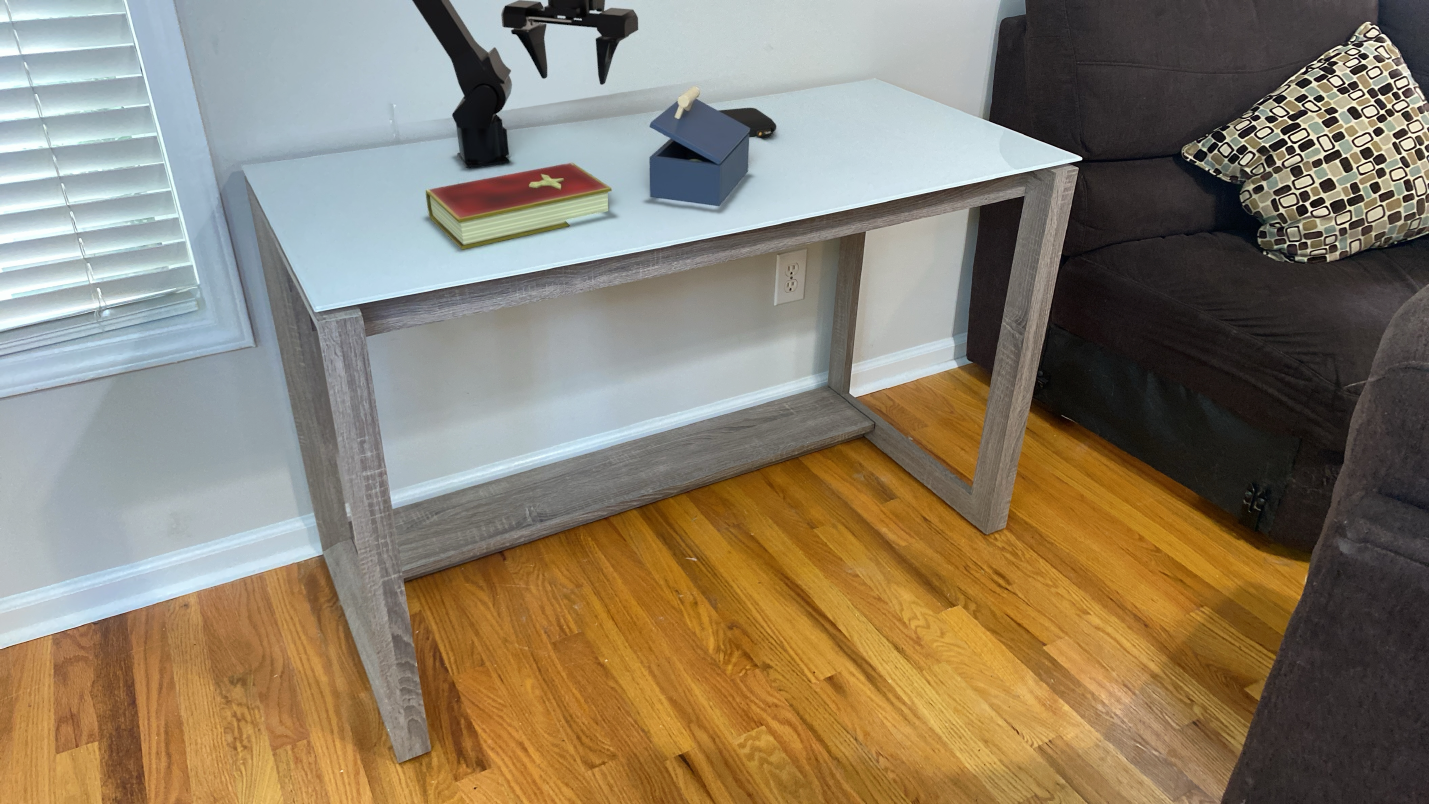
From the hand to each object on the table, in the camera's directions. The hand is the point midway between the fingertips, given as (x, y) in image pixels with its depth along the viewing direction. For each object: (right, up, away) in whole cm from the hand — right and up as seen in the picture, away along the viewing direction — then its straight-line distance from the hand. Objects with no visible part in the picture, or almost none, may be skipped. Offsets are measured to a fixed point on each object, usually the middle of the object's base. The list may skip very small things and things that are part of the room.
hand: (573, 81), depth 140 cm
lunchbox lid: (+19, -9, -7) cm, 22 cm away
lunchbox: (+19, -16, -2) cm, 25 cm away
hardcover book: (-5, -22, -12) cm, 26 cm away
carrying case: (+23, -3, +19) cm, 30 cm away
